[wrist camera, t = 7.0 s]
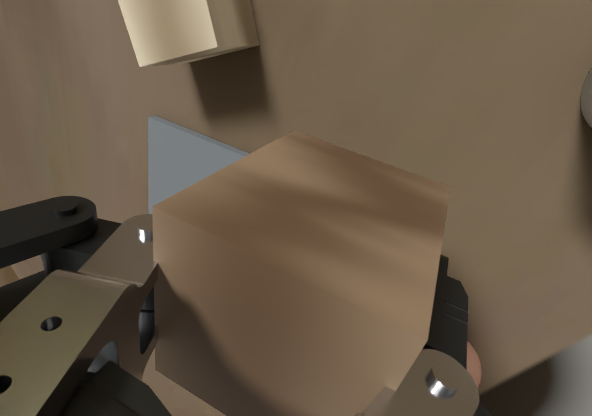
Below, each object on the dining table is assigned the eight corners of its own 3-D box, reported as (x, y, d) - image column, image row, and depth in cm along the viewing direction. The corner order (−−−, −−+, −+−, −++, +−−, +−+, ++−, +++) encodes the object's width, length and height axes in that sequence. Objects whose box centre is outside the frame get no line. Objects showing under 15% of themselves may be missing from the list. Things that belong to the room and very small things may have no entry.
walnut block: (450, 187, 10) (427, 340, 5) (390, 307, 12) (335, 486, 7) (293, 130, 11) (152, 206, 6) (268, 249, 14) (155, 369, 9)
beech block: (243, -41, 17) (191, -60, 14) (260, 45, 19) (217, 46, 16) (169, -13, 20) (110, -24, 16) (190, 62, 21) (139, 67, 18)
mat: (343, 191, 20) (340, 195, 20) (293, 341, 27) (289, 347, 27) (154, 115, 24) (148, 117, 23) (153, 266, 31) (148, 270, 30)
